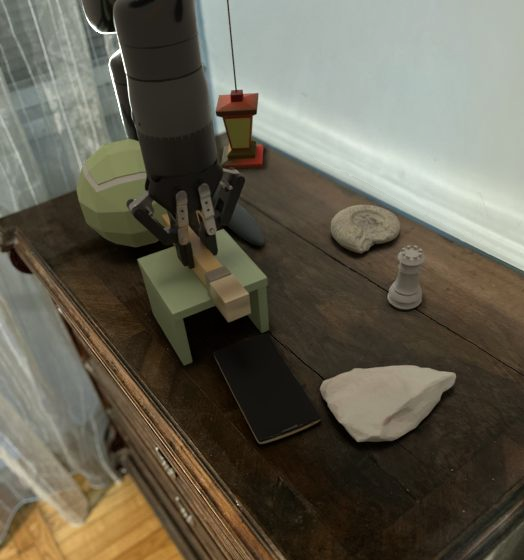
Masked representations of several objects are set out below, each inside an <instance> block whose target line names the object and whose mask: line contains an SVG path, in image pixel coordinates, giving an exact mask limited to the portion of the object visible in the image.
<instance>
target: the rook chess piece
mask: <svg viewBox="0 0 524 560" xmlns="http://www.w3.org/2000/svg"><path fill="white" fill-rule="evenodd" d="M411 246H412V245H411V244H409V245H406V246H404V247H402V248H401V251H400V252H399V253H398V254H397V260H398V261H399V263H398V265H397V268H398V273H397V276H396V280H394V282H393V283H392V284H391V285H390V286H389V289H388V293H387V301H388V302H389V303H390V304H391V306H392V307H394V308H395V309H398V310H400V311H401V310H402V311H407V310H408V311H409V310H414V309H415V308H416V307H418V306H419V305H421V303H422V301H423V300H422V299H423V298H422V297H423V290H422V287H421V285H420V282H419V273H420V271H421V270H422V266H421V265H422V264H423V263H424V262H425V255H424V254H423V249H422V248H419V246H418V245H415V244H414V245H413V247H411Z"/></svg>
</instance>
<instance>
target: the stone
mask: <svg viewBox="0 0 524 560" xmlns="http://www.w3.org/2000/svg"><path fill="white" fill-rule="evenodd" d="M456 379H457V375H456V373H455V372H453V371H441V370H437V369H435V368H434V369H433V368H430V367H420V366H418V365H411V364H409V365H408V364H403V365H401V364H400V365H388V366H375V367H369V368H362V367H354V368H352V369H351V370H349V371H345V372H342V373H339V374H337V375H336V376H333V377H330V378H327V379H324V380H323V381H322V383H321V385H320V388H319V391H320V394H321V396H322V399H323V400H324V401H325V402H326V403H327V408H328V409H329V410H330V412H331V413H332V414H333V416H334V418H335V419H336V420H337V422H338V423H339V424H341V425H342V426H343V427H344V429H345V430H346V432H347V433H348V434H349V436H351V437H352V439H354V440H355V441H356V442H357V443H363V442H364V443H365V442H371V443H378V442H379V443H380V442H393V441H395V440H397V439H399V438H401V437H403V436H404V435H406V434H407V433H409V432H411V431H413V430H415V429H416V428H417V427H418V426H419V424H420V423H421V422H422V421H423V420H424V419H425V418H426V417H428V416H429V414H430V413H431V412H432V411H433V409H434V408H435V407H436V406H437V404H439V402H440V401H441V397H442V395H443V393H444V392H446V391H448V390H450V389H451V388H452V387H453V386H454V385H455V383H456Z"/></svg>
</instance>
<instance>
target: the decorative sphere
mask: <svg viewBox="0 0 524 560" xmlns="http://www.w3.org/2000/svg"><path fill="white" fill-rule="evenodd" d="M145 182H146V170H145V165H144V161H143V157H142V153H141V148H140V144H139V141H136V140H133V139H127V138H126V139H122V140H116V141H112V142H107V143H104V144H102V145H101V147H99V148H98V149H97V150H96V151H95V152H94V153H93V154H91V155H90V157H88V158H87V159H86V160H85V161H84V165H82V166H81V169H80V172H79V176H78V181H77V183H76V184H77V185H76V190H75V191H76V195H77V200H78V204H79V206H80V209H81V212H82V215H83V217H84V220H85V224H86V225H88V227H90V228H91V229H92V230H94V231H95V232H96V233H97V234H99V235H100V236H101V237H102V238H103V239H106V241H109V242H111V243H113V244H115V245H120V246H125V247H131V248H140V247H144V246H148V245H151V244H155V243H158V242H160V240H158V239H157V238H156V237H155V236H154V235H153V234H152V233H151V232H150V231H149V230H148V229H146V228H145V227H144V226H143V225H142V224H141V223H140V222H139V221H138V220H137V219H135V217H134V216H133V215H132V213H131V212H130V210H129V209H128V208H127V205H126V203H127V201H128V200H129V199H135V200H136V199H137V198H138V197H139V196H141V195H142V194H143V193H144V192H145V191H146V190H145ZM152 207H153V208H154V214H153V217H154V218H155V219H156V220H158V221H159V222H160V223H161V224H162V225H163V226H164V224H163V220H162V215H164V214H167V210H166V209H165V208H163V207H162V206H161V205H159V204H158V203H157V202H155V201H154V200H153V202H152Z"/></svg>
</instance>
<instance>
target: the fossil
mask: <svg viewBox="0 0 524 560" xmlns="http://www.w3.org/2000/svg"><path fill="white" fill-rule="evenodd" d="M400 231H401V222H400V220H399V218H398V217H397V216H396V214H395V213H394V212H392V211H391V210H388V209H386V208H384V207H381V206H377V205H372V204H354V205H351V206H348V207H345V208H343V209H341V210H340V211H338V212H337V213H336V214H335V215H334V216H333V218H332V219H331V222H330V233H331V236H332V238H333V239H334V240H335V241H336V242H337V244H339V245H340V246H341V247H342V248H344V249H346V250H348V251H350V252H353V253H356V254H359V255H360V254H363V253H365V252H366V251H367V252H368V251H369V250H370V248H371V247H373V246H374V245H375V244H376V245H380V244H386V243H389V242H391V241H393V240H395V239H396V238H397V237H398V235H400Z"/></svg>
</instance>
